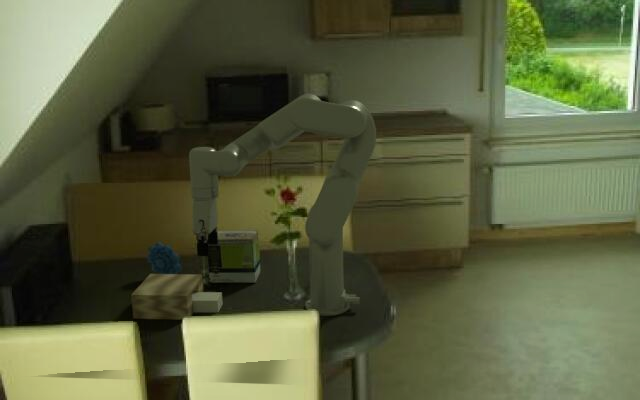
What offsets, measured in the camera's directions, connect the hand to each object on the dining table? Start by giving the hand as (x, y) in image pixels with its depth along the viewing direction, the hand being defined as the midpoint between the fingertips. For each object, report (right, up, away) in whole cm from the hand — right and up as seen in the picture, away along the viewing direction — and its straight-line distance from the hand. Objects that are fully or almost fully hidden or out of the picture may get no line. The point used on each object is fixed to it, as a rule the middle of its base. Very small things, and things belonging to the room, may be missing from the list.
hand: (207, 249), depth 201 cm
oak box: (-12, -17, +5) cm, 21 cm away
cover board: (-5, -18, +4) cm, 19 cm away
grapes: (-19, -11, +27) cm, 35 cm away
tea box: (+5, -11, +27) cm, 29 cm away
